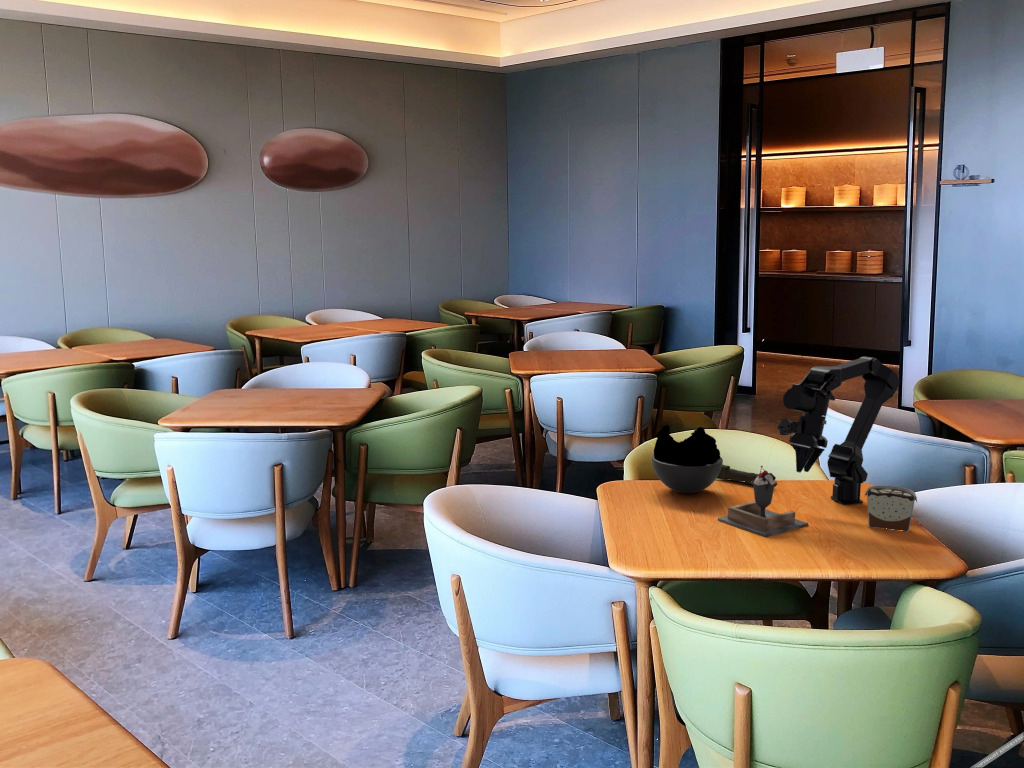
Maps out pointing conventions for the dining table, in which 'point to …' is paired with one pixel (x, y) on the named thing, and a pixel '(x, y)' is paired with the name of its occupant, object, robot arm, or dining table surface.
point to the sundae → (764, 490)
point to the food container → (890, 507)
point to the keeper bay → (761, 520)
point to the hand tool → (736, 475)
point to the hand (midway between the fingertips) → (802, 471)
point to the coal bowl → (686, 461)
